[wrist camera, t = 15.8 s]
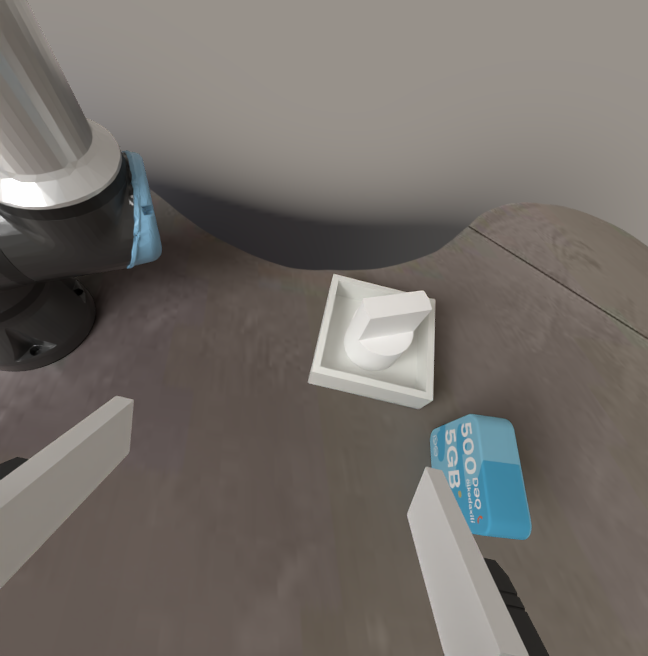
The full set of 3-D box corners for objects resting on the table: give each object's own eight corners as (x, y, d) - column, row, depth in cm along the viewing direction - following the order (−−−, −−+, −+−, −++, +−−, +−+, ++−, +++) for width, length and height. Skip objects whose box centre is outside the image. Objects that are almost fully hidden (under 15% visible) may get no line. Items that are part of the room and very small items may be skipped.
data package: (428, 430, 46) (475, 410, 36) (458, 434, 47) (512, 415, 36) (434, 527, 40) (491, 537, 30) (468, 531, 41) (536, 542, 30)
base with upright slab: (388, 316, 54) (416, 271, 43) (406, 365, 50) (443, 330, 39) (337, 323, 51) (354, 279, 41) (352, 376, 48) (376, 341, 37)
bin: (307, 382, 47) (311, 371, 43) (328, 291, 55) (333, 273, 51) (418, 409, 47) (433, 400, 43) (423, 314, 56) (435, 299, 52)
